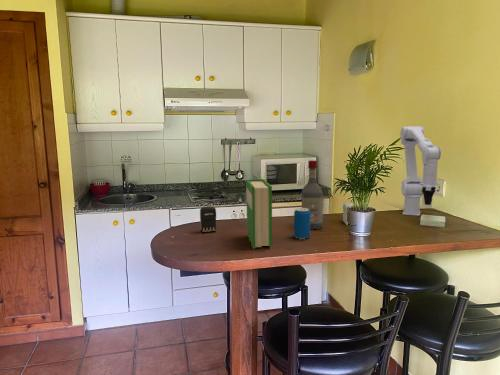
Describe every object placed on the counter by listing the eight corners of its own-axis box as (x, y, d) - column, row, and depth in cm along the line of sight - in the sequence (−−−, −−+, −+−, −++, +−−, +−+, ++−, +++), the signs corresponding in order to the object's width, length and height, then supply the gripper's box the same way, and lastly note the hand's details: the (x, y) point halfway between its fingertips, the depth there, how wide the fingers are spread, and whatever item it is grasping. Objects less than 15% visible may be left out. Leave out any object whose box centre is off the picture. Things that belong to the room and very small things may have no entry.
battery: (201, 233, 168) (200, 208, 166) (200, 231, 172) (199, 206, 170) (217, 232, 170) (216, 207, 168) (216, 230, 173) (215, 205, 172)
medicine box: (356, 225, 178) (356, 206, 176) (346, 225, 178) (346, 207, 176) (351, 221, 186) (352, 203, 184) (342, 221, 186) (343, 203, 184)
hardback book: (272, 248, 148) (271, 186, 144) (252, 249, 147) (251, 187, 143) (264, 235, 165) (263, 179, 161) (247, 236, 164) (246, 179, 160)
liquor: (322, 230, 171) (323, 162, 166) (301, 229, 172) (302, 162, 167) (321, 224, 180) (322, 159, 175) (301, 224, 181) (301, 159, 176)
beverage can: (310, 235, 163) (311, 207, 161) (308, 240, 157) (309, 211, 155) (295, 234, 165) (295, 207, 163) (292, 239, 159) (293, 210, 156)
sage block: (421, 219, 186) (421, 214, 185) (444, 221, 181) (445, 216, 181) (420, 224, 177) (420, 219, 176) (444, 227, 172) (445, 221, 172)
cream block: (422, 205, 181) (422, 195, 180) (431, 206, 179) (432, 195, 178) (421, 207, 177) (422, 196, 176) (431, 208, 175) (432, 197, 174)
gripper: (421, 171, 183) (419, 199, 186) (419, 175, 171) (417, 206, 173) (437, 172, 180) (435, 201, 183) (436, 176, 168) (434, 207, 170)
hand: (427, 203), depth 178 cm, fingers closed on cream block, 4 cm apart
